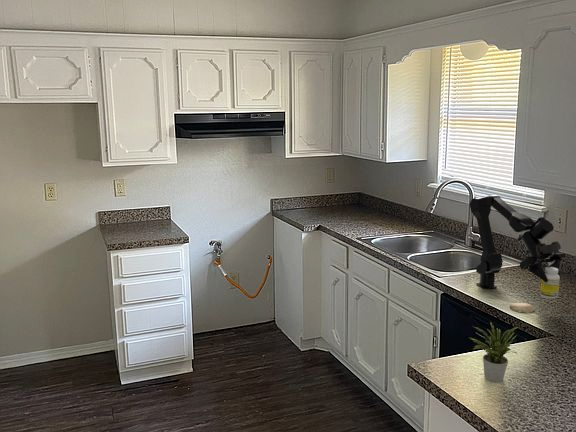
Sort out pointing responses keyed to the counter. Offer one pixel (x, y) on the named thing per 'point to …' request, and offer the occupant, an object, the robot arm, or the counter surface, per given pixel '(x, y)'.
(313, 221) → the counter surface
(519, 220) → the robot arm
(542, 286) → the pill bottle
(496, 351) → the house plant
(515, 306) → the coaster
